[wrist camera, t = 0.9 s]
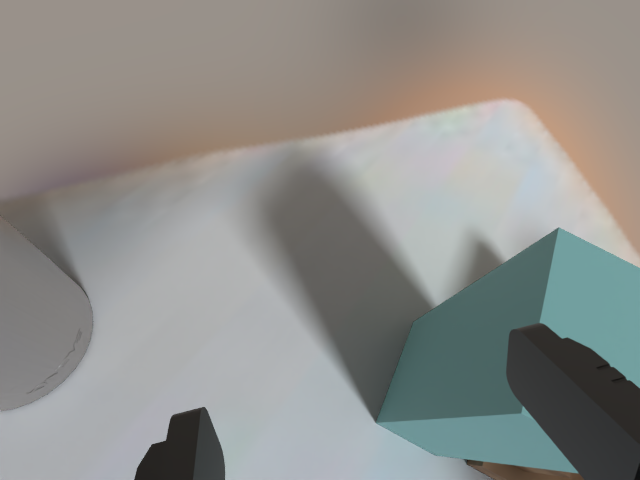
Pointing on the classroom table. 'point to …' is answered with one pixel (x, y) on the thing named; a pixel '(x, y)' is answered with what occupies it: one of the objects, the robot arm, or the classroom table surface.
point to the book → (492, 347)
